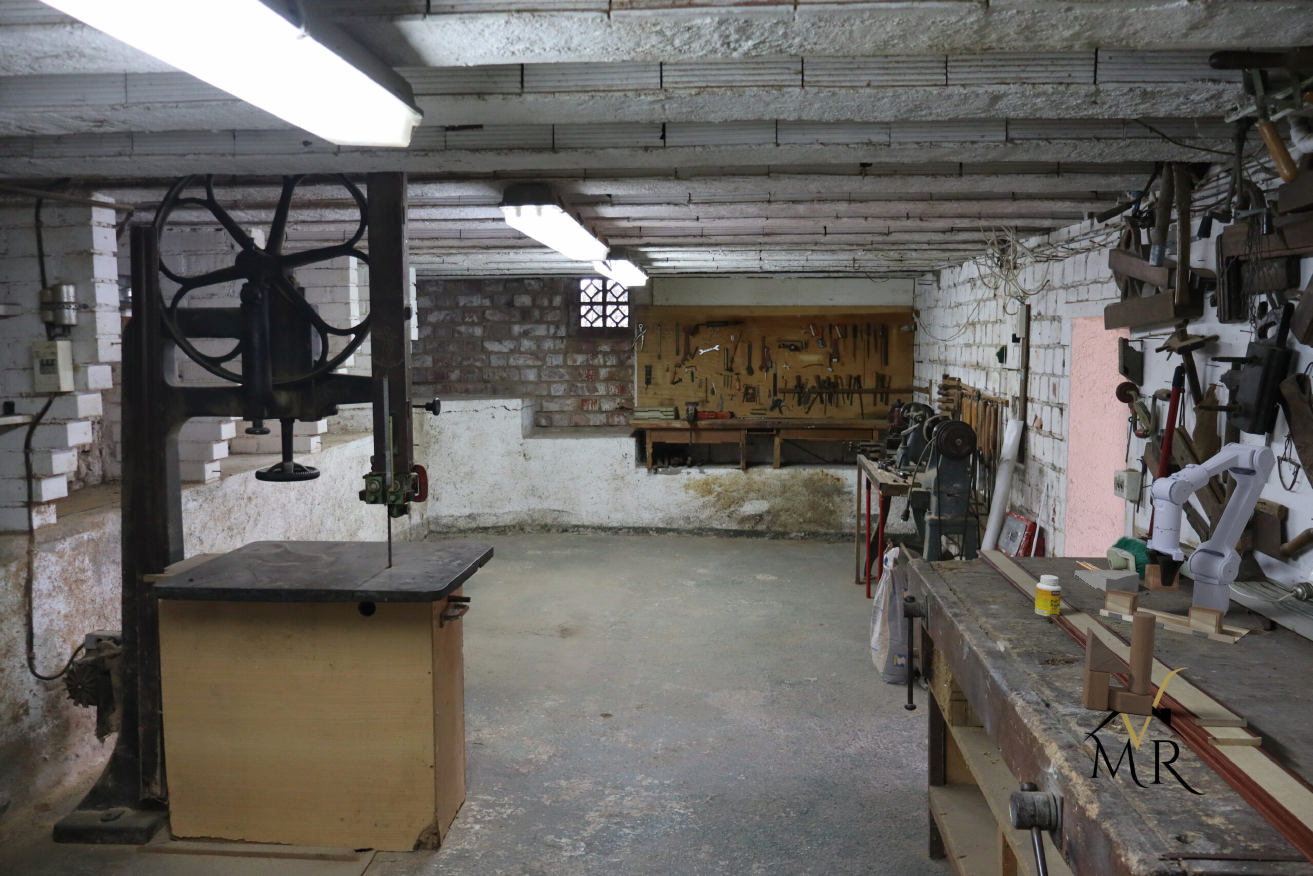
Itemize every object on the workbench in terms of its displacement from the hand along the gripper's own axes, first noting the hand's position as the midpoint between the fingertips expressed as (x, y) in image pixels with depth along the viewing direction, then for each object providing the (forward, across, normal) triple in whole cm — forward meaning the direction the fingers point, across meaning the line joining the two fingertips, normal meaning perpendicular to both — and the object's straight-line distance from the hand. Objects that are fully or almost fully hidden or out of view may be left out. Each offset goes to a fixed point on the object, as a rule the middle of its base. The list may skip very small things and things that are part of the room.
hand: (1162, 583), depth 216 cm
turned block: (+1, 0, 0) cm, 1 cm away
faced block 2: (+8, +13, +4) cm, 16 cm away
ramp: (+10, -34, 0) cm, 36 cm away
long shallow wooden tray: (+9, +5, +1) cm, 11 cm away
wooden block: (+9, +60, -34) cm, 70 cm away
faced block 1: (+8, +2, -10) cm, 13 cm away
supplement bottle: (+9, +3, -27) cm, 29 cm away
